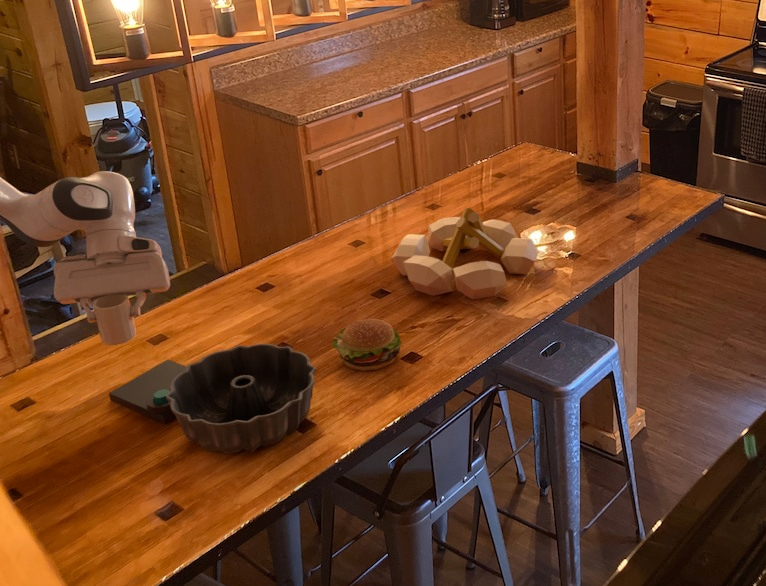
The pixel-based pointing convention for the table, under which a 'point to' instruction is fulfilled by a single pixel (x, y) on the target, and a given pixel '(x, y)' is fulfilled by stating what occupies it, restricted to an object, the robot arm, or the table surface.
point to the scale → (149, 392)
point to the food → (368, 344)
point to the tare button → (160, 396)
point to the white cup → (114, 319)
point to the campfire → (451, 238)
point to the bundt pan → (243, 397)
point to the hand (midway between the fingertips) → (114, 318)
